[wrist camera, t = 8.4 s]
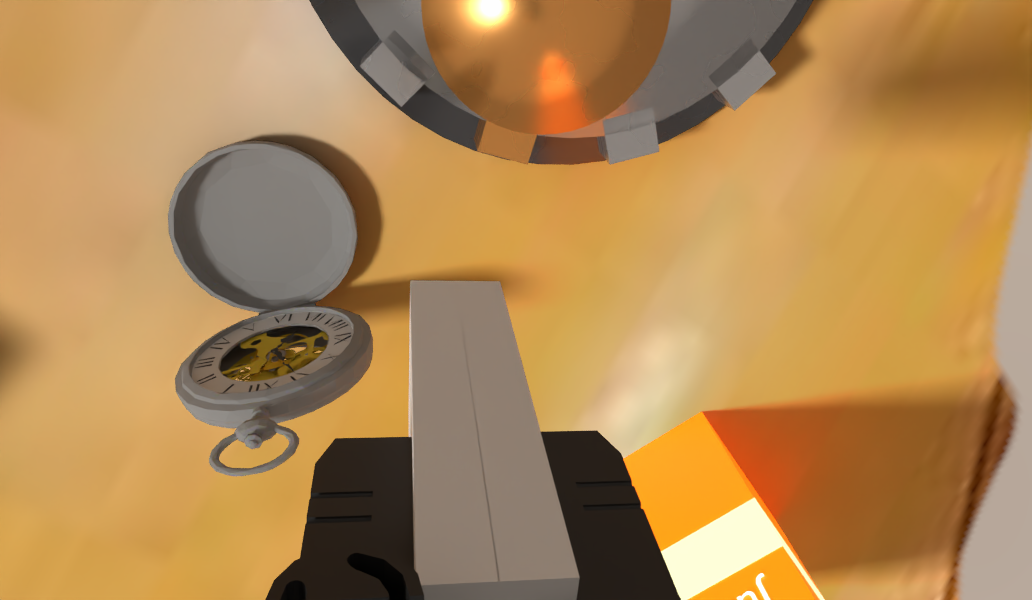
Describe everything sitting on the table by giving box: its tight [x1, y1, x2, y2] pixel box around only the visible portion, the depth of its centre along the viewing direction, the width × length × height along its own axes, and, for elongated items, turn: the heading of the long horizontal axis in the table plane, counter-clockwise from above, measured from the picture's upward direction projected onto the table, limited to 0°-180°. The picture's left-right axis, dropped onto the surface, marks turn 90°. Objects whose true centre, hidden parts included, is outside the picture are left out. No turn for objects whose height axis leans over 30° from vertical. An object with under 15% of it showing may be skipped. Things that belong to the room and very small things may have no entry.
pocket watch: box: [168, 141, 373, 476], centre depth 25 cm, size 8×8×10 cm
